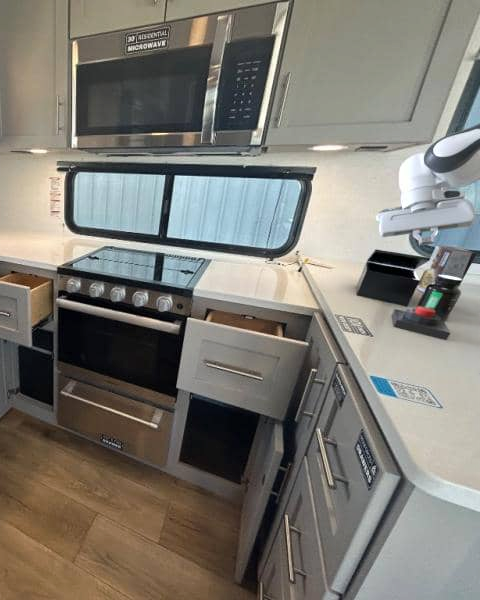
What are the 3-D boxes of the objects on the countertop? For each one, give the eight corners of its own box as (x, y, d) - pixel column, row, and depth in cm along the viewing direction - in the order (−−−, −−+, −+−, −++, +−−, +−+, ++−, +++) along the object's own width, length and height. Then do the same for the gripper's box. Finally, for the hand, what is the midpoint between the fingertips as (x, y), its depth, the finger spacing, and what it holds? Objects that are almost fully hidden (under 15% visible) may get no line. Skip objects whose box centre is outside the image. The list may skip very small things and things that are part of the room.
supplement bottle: (427, 320, 93) (448, 280, 88) (407, 310, 99) (426, 272, 95) (453, 322, 92) (475, 282, 88) (432, 312, 99) (452, 274, 94)
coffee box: (453, 299, 110) (478, 253, 104) (429, 296, 112) (453, 250, 106) (437, 291, 118) (459, 247, 112) (414, 287, 120) (436, 244, 114)
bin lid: (429, 260, 96) (430, 257, 96) (374, 251, 103) (375, 249, 103) (414, 269, 109) (415, 267, 109) (366, 261, 116) (367, 259, 116)
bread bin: (407, 307, 102) (420, 280, 98) (356, 295, 109) (366, 270, 105) (402, 294, 113) (414, 269, 109) (357, 284, 120) (366, 261, 117)
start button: (431, 315, 87) (434, 309, 86) (433, 319, 84) (436, 313, 84) (413, 310, 89) (416, 305, 88) (414, 314, 86) (417, 308, 86)
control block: (439, 327, 89) (446, 314, 87) (446, 340, 82) (454, 326, 80) (391, 315, 94) (397, 303, 93) (393, 327, 87) (400, 313, 86)
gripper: (376, 206, 106) (379, 245, 102) (473, 189, 93) (481, 233, 89) (375, 215, 111) (379, 253, 107) (468, 200, 97) (475, 242, 94)
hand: (426, 244), depth 98 cm, fingers closed
